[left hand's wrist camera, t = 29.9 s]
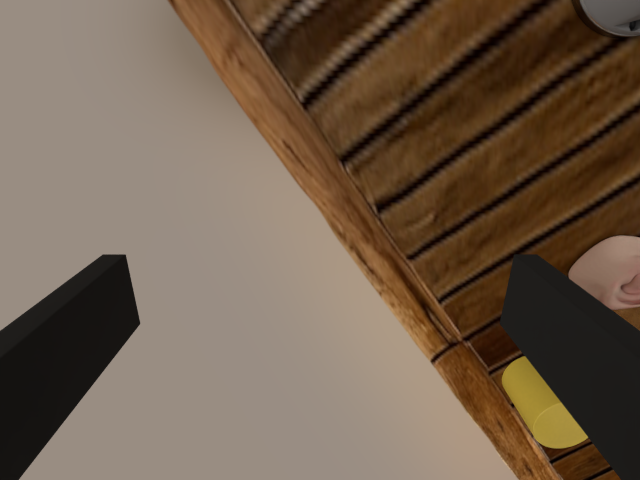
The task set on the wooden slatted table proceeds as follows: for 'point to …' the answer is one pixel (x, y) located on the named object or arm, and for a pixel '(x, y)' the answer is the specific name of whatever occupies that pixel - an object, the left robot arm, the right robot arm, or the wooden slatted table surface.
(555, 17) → the wooden slatted table surface
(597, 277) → the anatomical model
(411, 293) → the wooden slatted table surface
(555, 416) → the canister
